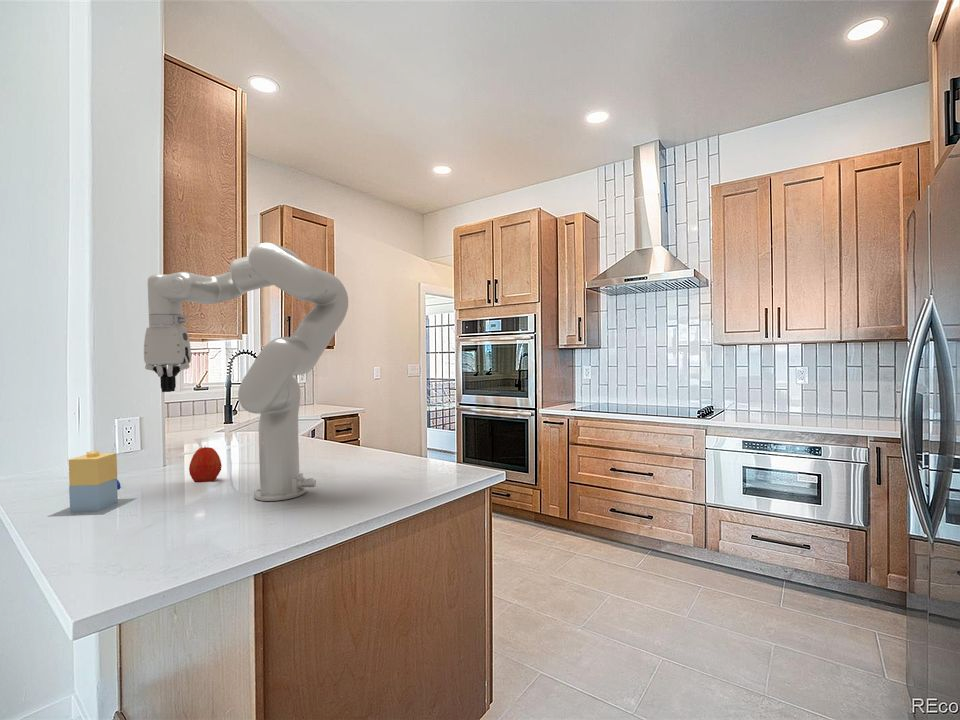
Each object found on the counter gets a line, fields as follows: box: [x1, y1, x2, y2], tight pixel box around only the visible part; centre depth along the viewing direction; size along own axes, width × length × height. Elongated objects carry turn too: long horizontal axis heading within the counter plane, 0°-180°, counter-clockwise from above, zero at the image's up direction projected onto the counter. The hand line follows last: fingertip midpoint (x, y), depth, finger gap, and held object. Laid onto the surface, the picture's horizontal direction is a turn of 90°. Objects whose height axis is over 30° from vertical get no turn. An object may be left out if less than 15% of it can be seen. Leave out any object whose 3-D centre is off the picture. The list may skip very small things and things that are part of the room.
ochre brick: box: [68, 450, 118, 487], centre depth 117 cm, size 6×6×7 cm
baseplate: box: [47, 497, 138, 518], centre depth 117 cm, size 12×12×2 cm
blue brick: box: [68, 477, 119, 512], centre depth 117 cm, size 6×6×7 cm
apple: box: [188, 446, 223, 483], centre depth 141 cm, size 8×8×11 cm
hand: (168, 391), depth 131 cm, fingers closed
